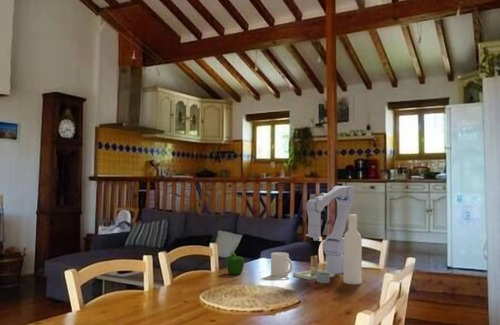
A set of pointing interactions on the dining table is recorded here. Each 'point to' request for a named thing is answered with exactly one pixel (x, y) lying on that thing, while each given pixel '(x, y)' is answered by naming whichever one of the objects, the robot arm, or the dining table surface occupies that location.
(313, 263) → the dowel
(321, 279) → the cup
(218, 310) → the dining table surface
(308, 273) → the tray
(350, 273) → the bottle
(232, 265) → the bell pepper
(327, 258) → the robot arm
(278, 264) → the mug
